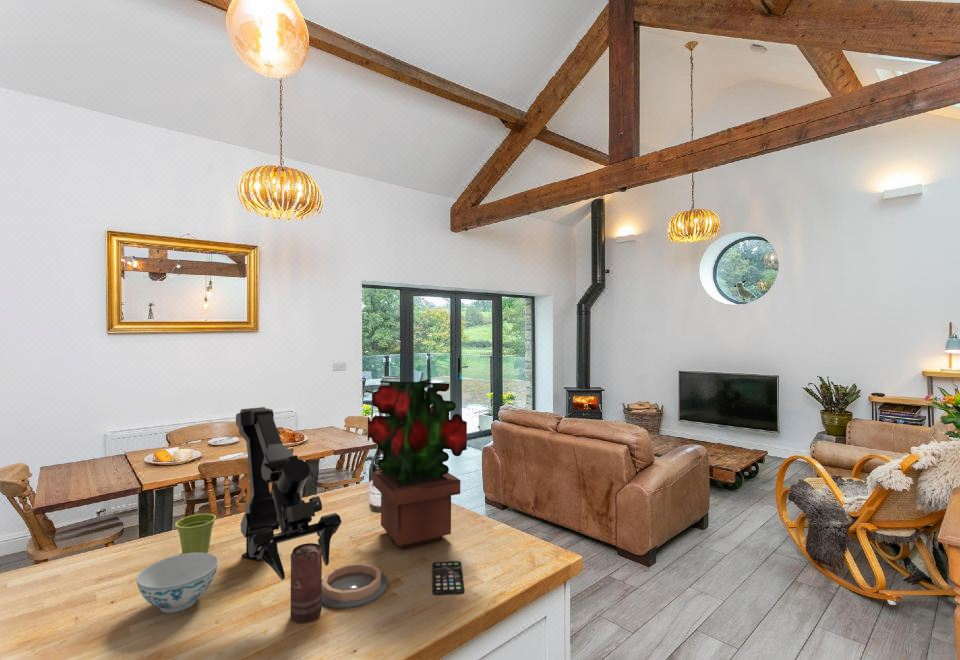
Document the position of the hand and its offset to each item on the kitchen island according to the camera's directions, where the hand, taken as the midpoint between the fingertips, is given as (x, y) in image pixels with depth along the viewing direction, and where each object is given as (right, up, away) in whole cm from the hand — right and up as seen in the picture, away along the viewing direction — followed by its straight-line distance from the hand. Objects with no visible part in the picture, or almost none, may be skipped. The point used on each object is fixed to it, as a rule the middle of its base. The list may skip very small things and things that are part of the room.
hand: (306, 571), depth 99 cm
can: (0, -9, 0) cm, 9 cm away
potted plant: (+18, -9, +38) cm, 43 cm away
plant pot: (-40, -9, +27) cm, 49 cm away
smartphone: (+29, -10, +15) cm, 34 cm away
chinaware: (-29, -9, +3) cm, 31 cm away
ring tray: (+7, -9, +10) cm, 15 cm away
